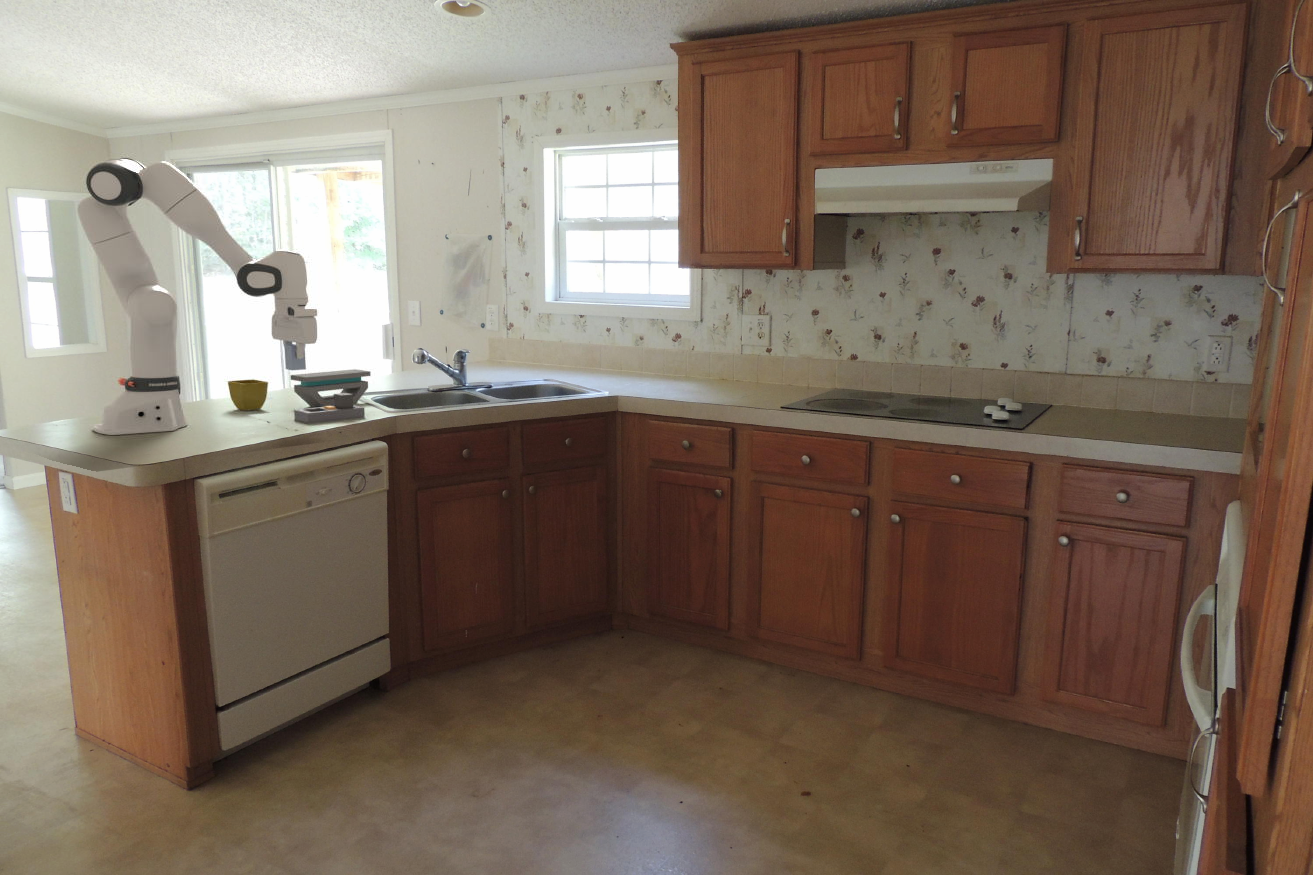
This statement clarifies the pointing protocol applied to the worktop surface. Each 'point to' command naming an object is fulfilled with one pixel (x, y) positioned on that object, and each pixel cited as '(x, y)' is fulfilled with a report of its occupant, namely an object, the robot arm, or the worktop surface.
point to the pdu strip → (328, 414)
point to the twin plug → (343, 400)
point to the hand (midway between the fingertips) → (294, 357)
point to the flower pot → (248, 393)
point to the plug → (293, 358)
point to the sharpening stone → (330, 385)
